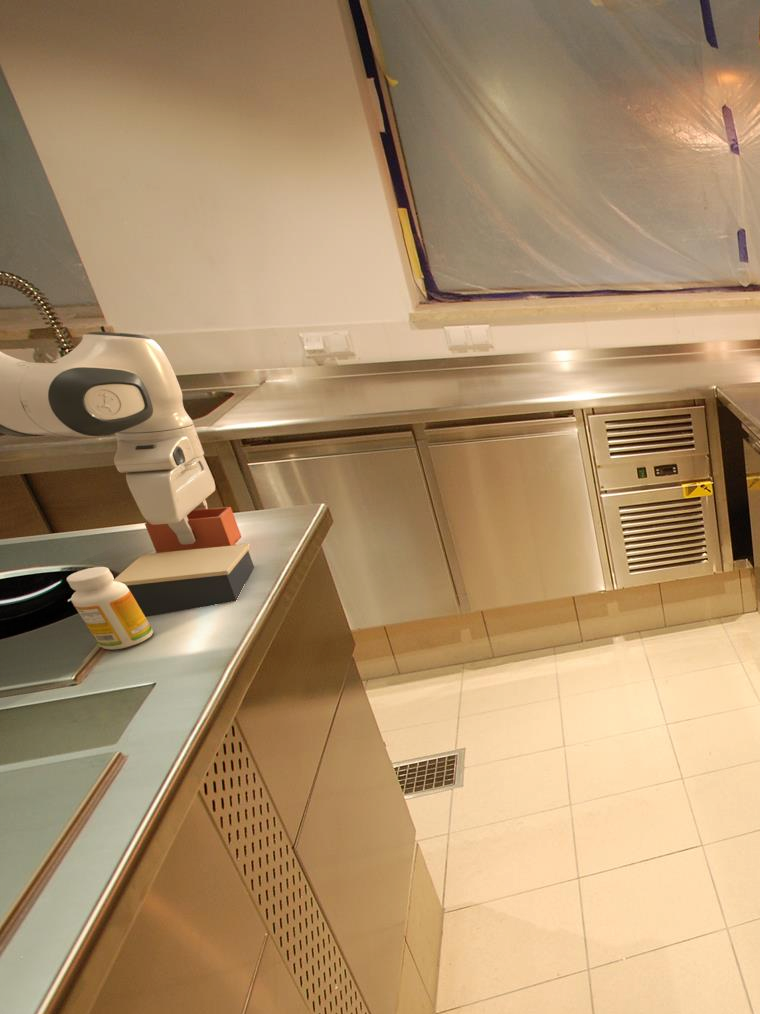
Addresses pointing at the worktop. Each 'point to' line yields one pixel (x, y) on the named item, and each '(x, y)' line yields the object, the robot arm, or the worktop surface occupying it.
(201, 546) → the terracotta tub
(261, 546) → the worktop surface
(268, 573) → the worktop surface
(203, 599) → the slate storage box
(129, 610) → the supplement bottle
